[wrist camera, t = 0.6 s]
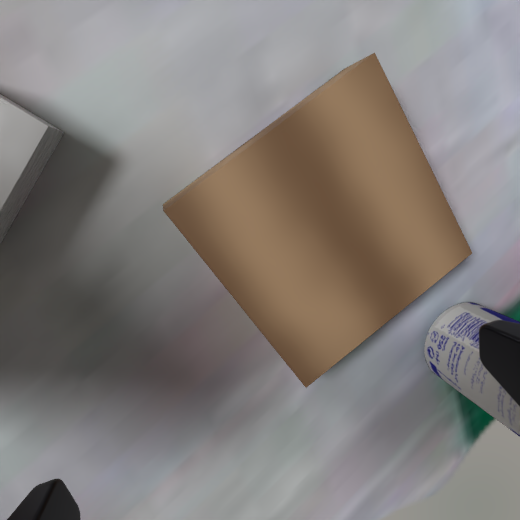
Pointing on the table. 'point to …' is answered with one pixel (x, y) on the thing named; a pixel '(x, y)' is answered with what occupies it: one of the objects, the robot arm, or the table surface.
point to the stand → (324, 221)
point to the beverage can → (469, 360)
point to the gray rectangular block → (21, 156)
